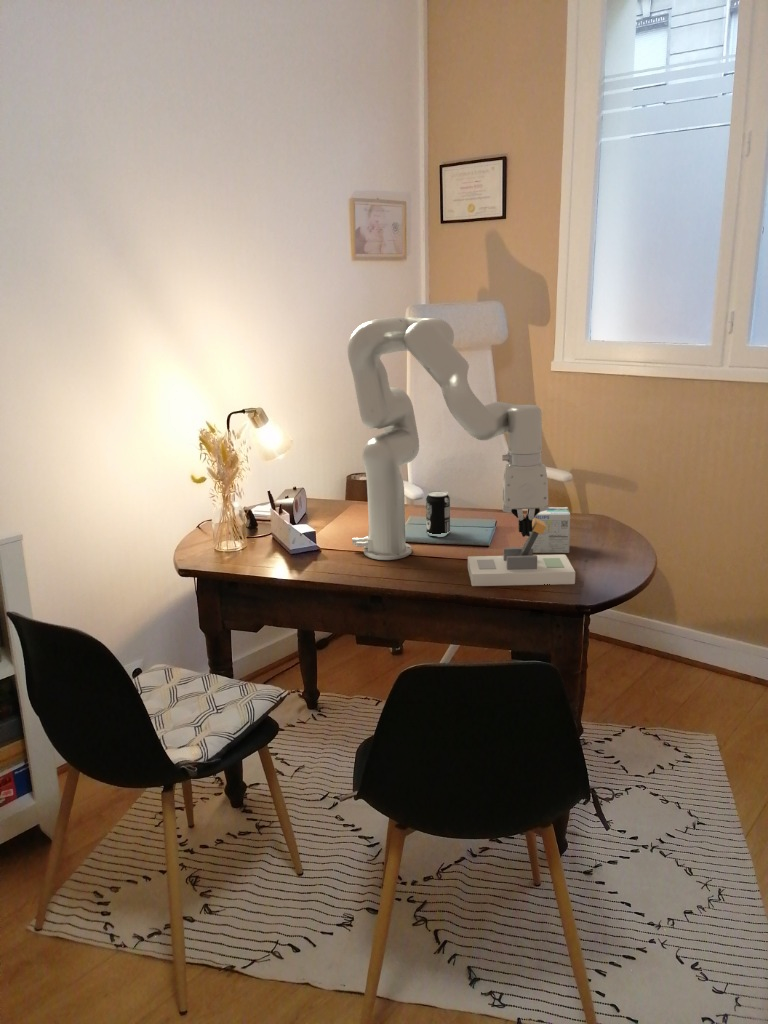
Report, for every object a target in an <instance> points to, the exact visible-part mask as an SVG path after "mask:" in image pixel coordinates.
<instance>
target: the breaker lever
mask: <svg viewBox="0 0 768 1024" xmlns="http://www.w3.org/2000/svg"><path fill="white" fill-rule="evenodd" d="M545 528H546V525H545V523H544V522H543V521H541V520H539V519H537V518H534V519H533V521H532V532H530V536H527V539H526V540H525V542H524V544H523V546H522V547H523V548H522V550H521V551H520V553H519V555H518V556H527V555H528V553H529V551H530V549H531V547H532V545H533V544H534V542H535V540H536V538H537V536H538V534H541V535H542V534H543V532H544V530H545Z"/></svg>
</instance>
